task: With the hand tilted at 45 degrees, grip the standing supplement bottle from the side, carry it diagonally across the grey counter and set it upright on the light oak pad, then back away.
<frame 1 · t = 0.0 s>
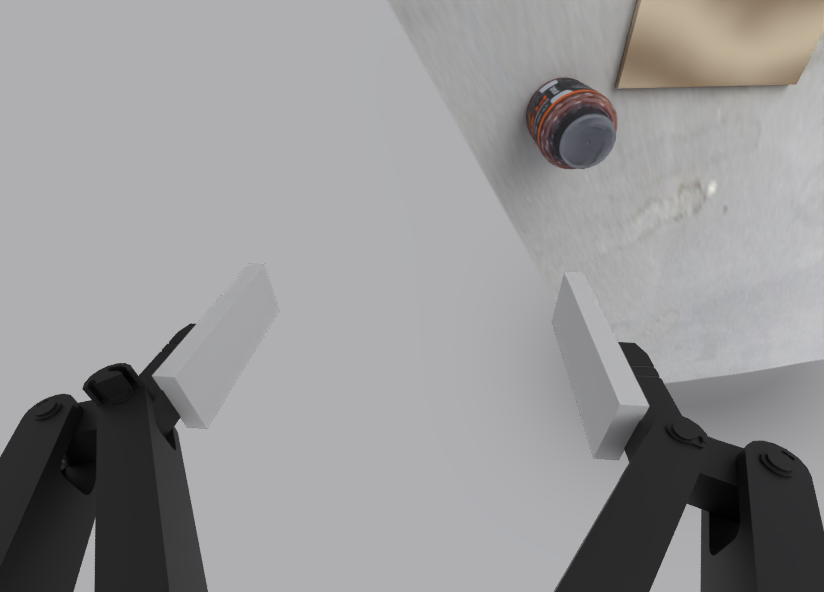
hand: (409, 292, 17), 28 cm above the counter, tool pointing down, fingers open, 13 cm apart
supplement bottle: (555, 111, 36), on the counter
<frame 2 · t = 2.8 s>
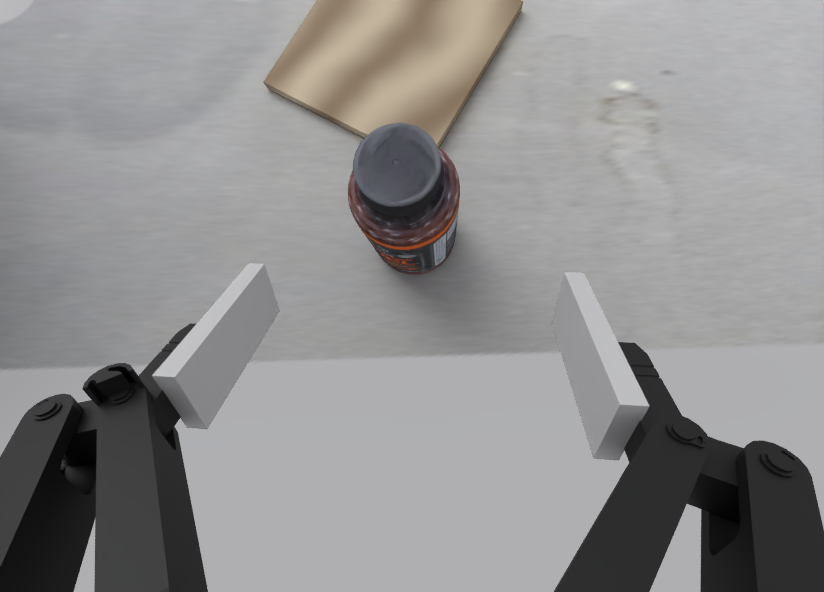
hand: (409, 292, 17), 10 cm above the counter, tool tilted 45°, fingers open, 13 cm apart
supplement bottle: (415, 238, 28), on the counter
oak pad: (392, 50, 30), on the counter
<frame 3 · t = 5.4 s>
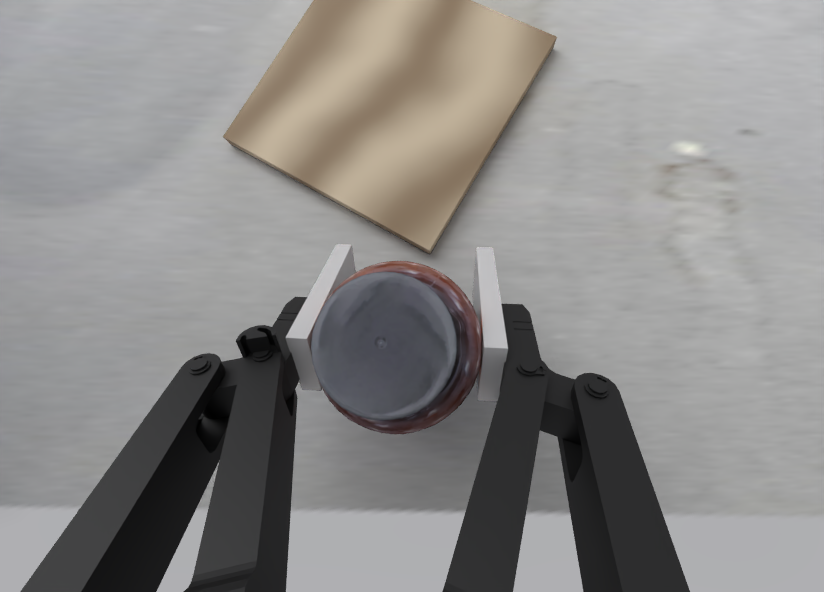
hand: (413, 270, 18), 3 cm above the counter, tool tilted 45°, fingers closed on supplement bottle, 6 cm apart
supplement bottle: (416, 345, 21), on the counter, touching gripper
oak pad: (387, 96, 23), on the counter
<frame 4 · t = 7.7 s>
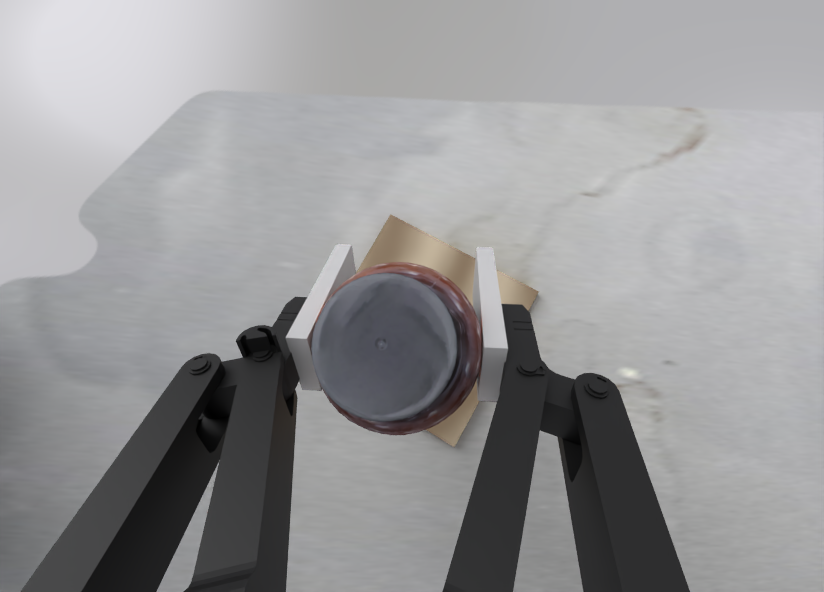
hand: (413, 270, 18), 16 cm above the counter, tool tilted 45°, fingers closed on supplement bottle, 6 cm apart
supplement bottle: (416, 346, 21), point 12 cm above the counter, touching gripper
oak pad: (421, 325, 33), on the counter
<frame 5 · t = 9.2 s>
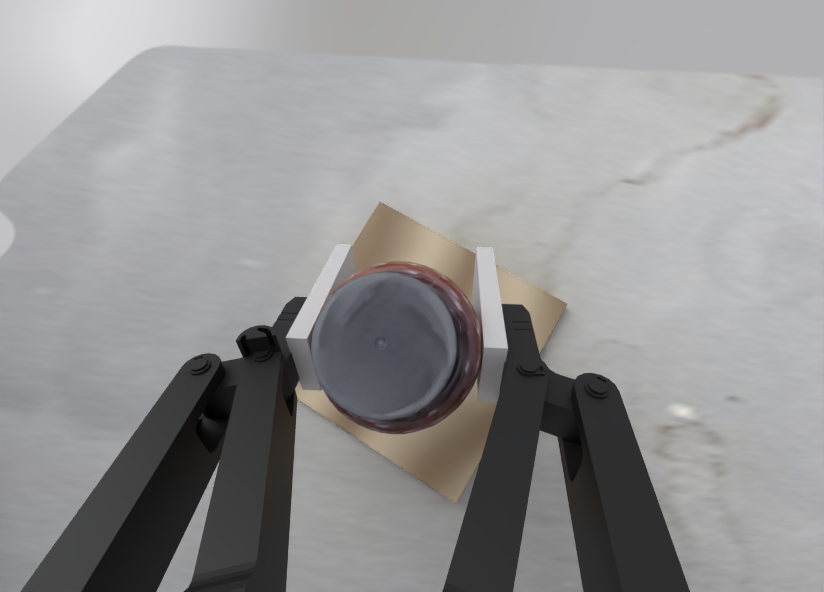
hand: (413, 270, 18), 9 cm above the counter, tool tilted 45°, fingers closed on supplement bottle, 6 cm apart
supplement bottle: (416, 346, 21), point 5 cm above the counter, touching gripper
oak pad: (416, 343, 26), on the counter
when the fingers open (5 cm above the counter, at t = 10.2 s): supplement bottle drops 1 cm, resting on oak pad.
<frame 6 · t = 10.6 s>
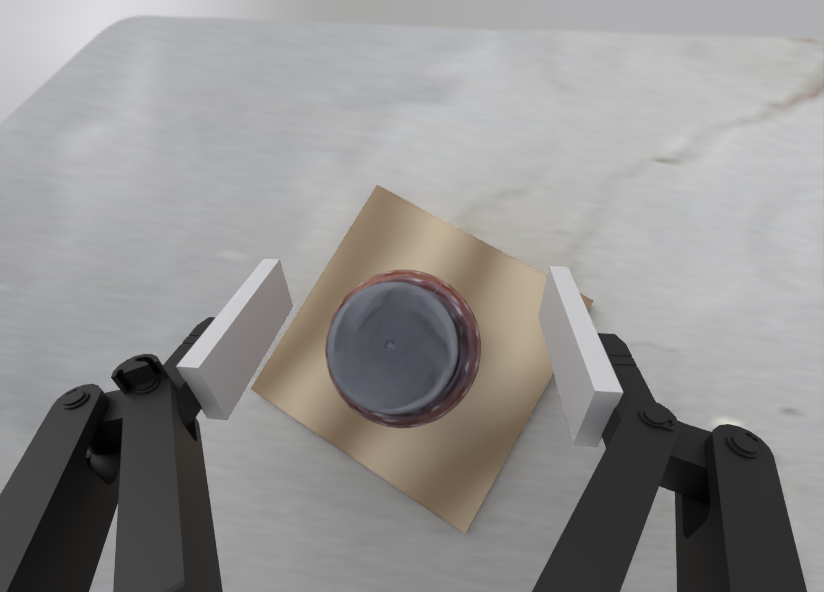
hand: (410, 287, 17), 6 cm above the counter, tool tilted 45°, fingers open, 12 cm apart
supplement bottle: (418, 346, 22), point 1 cm above the counter, touching oak pad
oak pad: (418, 346, 23), on the counter
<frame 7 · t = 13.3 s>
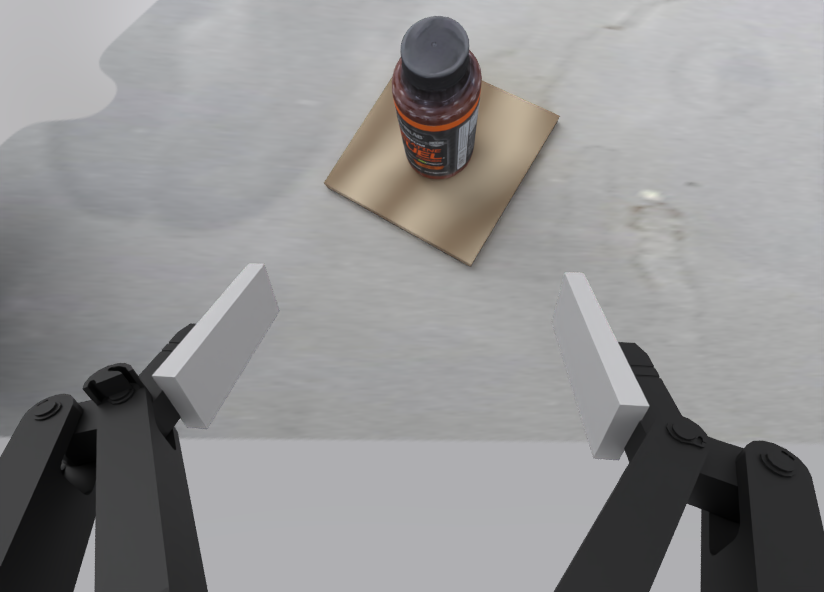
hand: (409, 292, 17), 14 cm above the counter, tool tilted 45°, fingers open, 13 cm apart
supplement bottle: (439, 151, 32), point 1 cm above the counter, touching oak pad
oak pad: (439, 154, 33), on the counter
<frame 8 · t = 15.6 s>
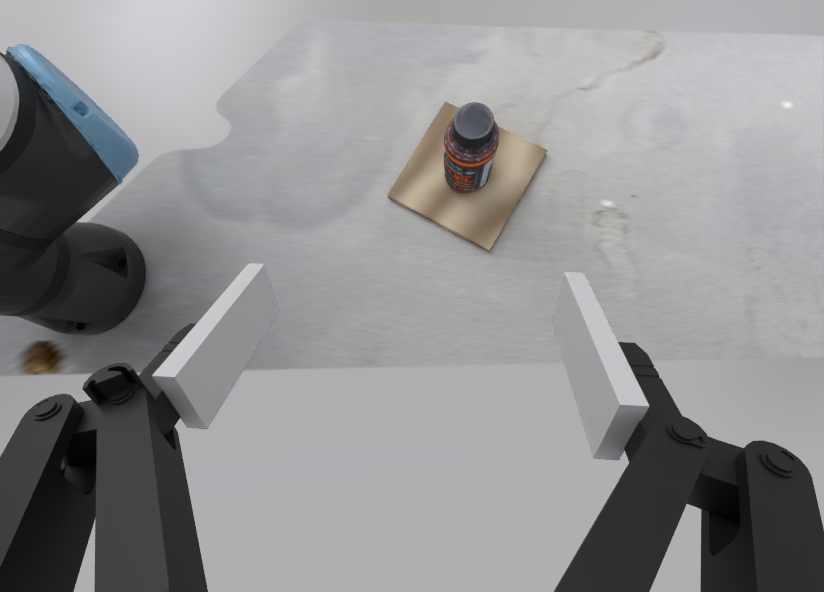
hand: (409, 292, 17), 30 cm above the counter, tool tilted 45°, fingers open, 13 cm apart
supplement bottle: (466, 174, 48), point 1 cm above the counter, touching oak pad
oak pad: (466, 175, 48), on the counter
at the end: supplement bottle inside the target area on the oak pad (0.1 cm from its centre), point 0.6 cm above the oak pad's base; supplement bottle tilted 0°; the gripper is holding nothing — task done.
